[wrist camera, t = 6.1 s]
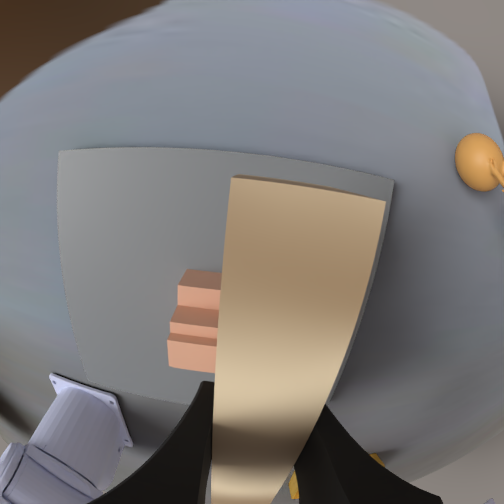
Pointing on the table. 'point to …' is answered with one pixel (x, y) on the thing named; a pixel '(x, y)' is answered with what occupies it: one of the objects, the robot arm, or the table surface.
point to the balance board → (163, 257)
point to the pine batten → (283, 323)
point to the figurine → (480, 162)
